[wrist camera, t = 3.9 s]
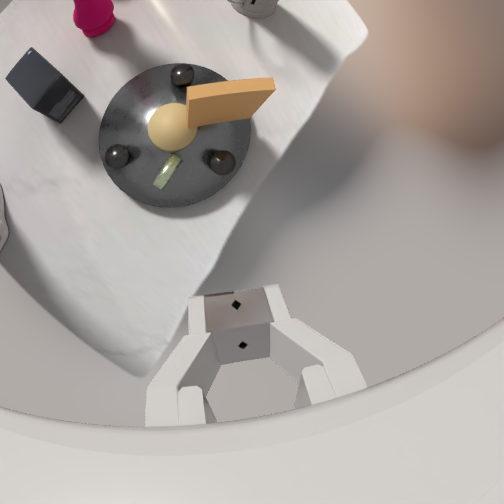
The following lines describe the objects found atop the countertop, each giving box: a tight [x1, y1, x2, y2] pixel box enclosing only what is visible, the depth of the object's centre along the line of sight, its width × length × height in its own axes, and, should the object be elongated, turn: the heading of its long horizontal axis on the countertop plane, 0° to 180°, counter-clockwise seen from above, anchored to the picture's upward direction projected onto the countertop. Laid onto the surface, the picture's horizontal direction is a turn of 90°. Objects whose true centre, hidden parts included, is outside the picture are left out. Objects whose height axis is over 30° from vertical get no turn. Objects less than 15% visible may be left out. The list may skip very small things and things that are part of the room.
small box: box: [5, 47, 84, 123], centre depth 26 cm, size 11×6×10 cm, turn 47°
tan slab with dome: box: [148, 78, 276, 152], centre depth 30 cm, size 14×7×14 cm, turn 102°
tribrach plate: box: [99, 63, 250, 207], centre depth 36 cm, size 23×23×4 cm
